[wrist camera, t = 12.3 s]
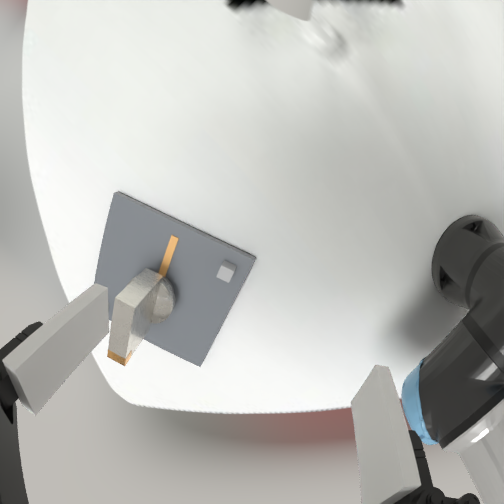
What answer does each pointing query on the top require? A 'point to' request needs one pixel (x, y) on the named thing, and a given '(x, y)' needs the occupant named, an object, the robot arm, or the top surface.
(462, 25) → the top surface
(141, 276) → the grey block knob
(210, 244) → the post plate
